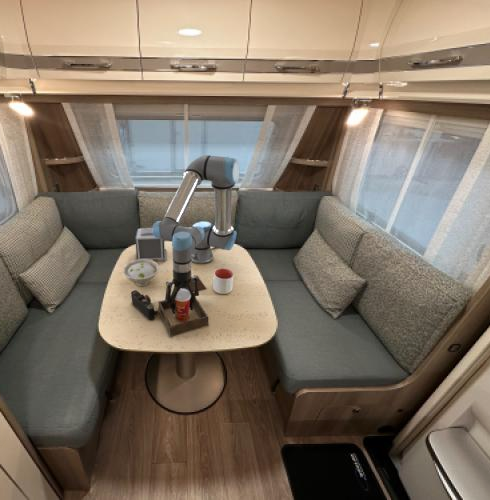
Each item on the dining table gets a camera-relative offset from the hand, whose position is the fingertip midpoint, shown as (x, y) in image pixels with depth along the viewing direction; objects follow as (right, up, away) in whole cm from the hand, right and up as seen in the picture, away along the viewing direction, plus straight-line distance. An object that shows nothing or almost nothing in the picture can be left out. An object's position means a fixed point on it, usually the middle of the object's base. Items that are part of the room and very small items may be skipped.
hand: (182, 310), depth 121 cm
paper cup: (0, -4, +2) cm, 4 cm away
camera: (-18, -1, +7) cm, 19 cm away
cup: (+21, +6, +20) cm, 30 cm away
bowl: (-22, +10, +25) cm, 35 cm away
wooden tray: (0, -4, +2) cm, 4 cm away
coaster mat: (+4, +8, +23) cm, 25 cm away
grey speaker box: (-21, +23, +49) cm, 58 cm away
